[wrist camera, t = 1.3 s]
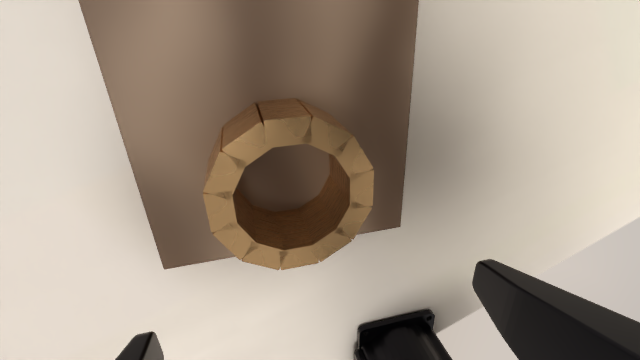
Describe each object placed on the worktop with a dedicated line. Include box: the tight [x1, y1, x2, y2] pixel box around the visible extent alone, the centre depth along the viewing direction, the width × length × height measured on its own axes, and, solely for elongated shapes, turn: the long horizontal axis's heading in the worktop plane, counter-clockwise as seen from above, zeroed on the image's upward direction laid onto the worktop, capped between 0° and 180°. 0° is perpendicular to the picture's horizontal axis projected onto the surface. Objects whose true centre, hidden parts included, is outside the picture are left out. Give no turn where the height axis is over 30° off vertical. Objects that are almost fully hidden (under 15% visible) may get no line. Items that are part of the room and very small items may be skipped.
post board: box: [79, 0, 419, 269], centre depth 13 cm, size 14×22×6 cm, turn 2°
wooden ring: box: [203, 98, 374, 270], centre depth 16 cm, size 7×7×4 cm
